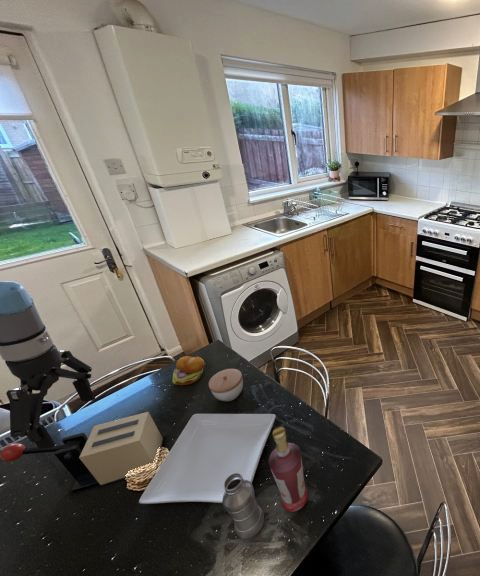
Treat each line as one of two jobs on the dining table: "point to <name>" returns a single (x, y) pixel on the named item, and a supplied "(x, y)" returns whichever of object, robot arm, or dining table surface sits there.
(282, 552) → the dining table surface
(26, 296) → the robot arm
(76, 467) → the lever bracket
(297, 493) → the liquor
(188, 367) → the cheeseburger
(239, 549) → the dining table surface
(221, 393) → the trinket box
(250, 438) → the square plate
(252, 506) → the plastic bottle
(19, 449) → the lever
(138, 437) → the toaster
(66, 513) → the dining table surface
